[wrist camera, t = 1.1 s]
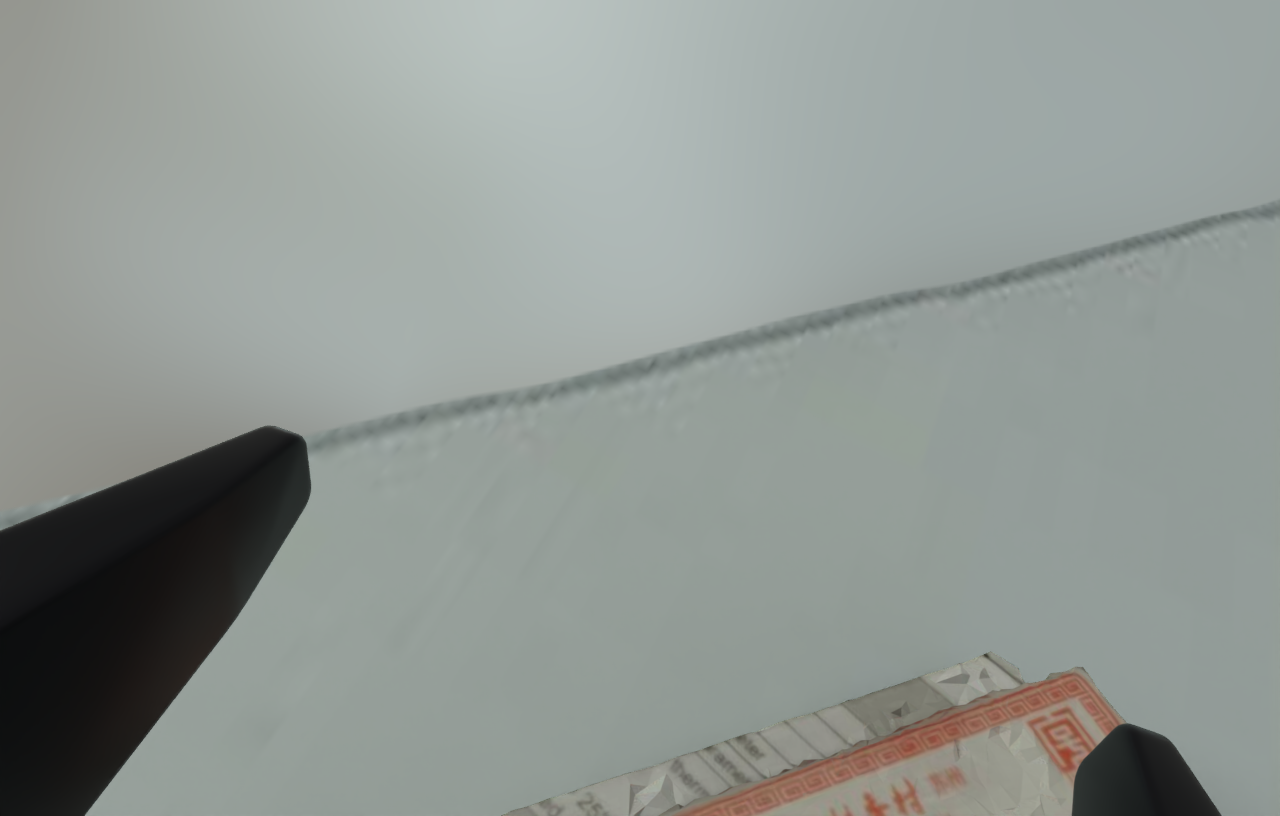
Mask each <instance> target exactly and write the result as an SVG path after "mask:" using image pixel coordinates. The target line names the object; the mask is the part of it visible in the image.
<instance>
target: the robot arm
mask: <svg viewBox="0 0 1280 816" xmlns="http://www.w3.org/2000/svg"><path fill="white" fill-rule="evenodd" d="M310 492H311V480H310V471H309V462H308V454H307V446H306V442H305V440H304V439H303V437H302V436H300V435H299V434H296V433H293V432H291V431H288V430H285V429H282V428H279V427H276V426H264V427H260V428H258V429H255V430H253V431H250V432H248V433H245V434H243V435H240V436H238V437H235V438H232V439H230V440H227V441H225V442H222V443H220V444H217V445H215V446H212V447H210V448H208V449H205V450H202V451H200V452H197V453H195V454H192V455H190V456H187V457H185V458H182V459H180V460H177V461H175V462H172V463H169V464H167V465H164V466H162V467H159V468H157V469H154V470H152V471H149V472H147V473H144V474H142V475H139V476H137V477H134V478H132V479H129V480H127V481H124V482H122V483H119V484H116V485H114V486H111V487H109V488H106V489H104V490H101V491H99V492H96V493H94V494H91V495H89V496H86V497H84V498H81V499H79V500H76V501H74V502H71V503H69V504H66V505H64V506H61V507H58V508H56V509H53V510H51V511H48V512H46V513H43V514H41V515H38V516H36V517H33V518H31V519H28V520H26V521H23V522H21V523H18V524H16V525H13V526H11V527H8V528H6V529H3V530H1V531H0V816H85V814H86V813H87V812H88V810H89V809H90V808H91V807H92V805H93V804H94V803H95V801H96V800H97V799H98V797H99V796H100V795H101V794H102V792H103V791H104V790H105V788H106V787H107V786H108V785H109V783H110V782H111V781H112V779H113V778H114V777H115V775H116V774H117V773H118V772H119V770H120V769H121V768H122V766H123V765H124V764H125V763H126V761H127V760H128V759H129V757H130V756H131V755H132V753H133V752H134V751H135V750H136V748H137V747H138V746H139V744H140V743H141V742H142V741H143V739H144V738H145V737H146V735H147V734H148V733H149V731H150V730H151V729H152V728H153V726H154V725H155V724H156V722H157V721H158V720H159V718H160V717H161V716H162V715H163V713H164V712H165V711H166V709H167V708H168V707H169V706H170V704H171V703H172V702H173V700H174V699H175V698H176V696H177V695H178V694H179V693H180V691H181V690H182V689H183V687H184V686H185V685H186V684H187V682H188V681H189V680H190V678H191V677H192V676H193V674H194V673H195V672H196V671H197V669H198V668H199V667H200V665H201V664H202V663H203V661H204V660H205V659H206V658H207V656H208V655H209V654H210V652H211V651H212V650H213V649H214V647H215V646H216V645H217V643H218V642H219V641H220V639H221V638H222V637H223V636H224V634H225V633H226V632H227V630H228V629H229V627H230V626H231V625H232V623H233V622H234V621H235V619H236V618H237V616H238V615H239V613H240V612H241V610H242V609H243V607H244V606H245V604H246V603H247V601H248V600H249V598H250V596H251V595H252V593H253V591H254V590H255V588H256V587H257V585H258V583H259V582H260V580H261V578H262V577H263V575H264V574H265V572H266V570H267V569H268V567H269V565H270V564H271V562H272V560H273V559H274V557H275V556H276V554H277V552H278V551H279V549H280V547H281V546H282V544H283V543H284V541H285V539H286V538H287V536H288V534H289V533H290V531H291V529H292V528H293V526H294V525H295V523H296V521H297V520H298V518H299V516H300V515H301V513H302V511H303V510H304V508H305V506H306V504H307V502H308V500H309V496H310ZM1072 816H1221V814H1220V813H1219V811H1218V810H1217V808H1216V807H1215V805H1214V804H1213V802H1212V801H1211V799H1210V798H1209V796H1208V795H1207V793H1206V792H1205V790H1204V789H1203V787H1202V786H1201V784H1200V783H1199V781H1198V780H1197V778H1196V777H1195V775H1194V774H1193V772H1192V771H1191V769H1190V768H1189V766H1188V765H1187V764H1186V762H1185V761H1184V759H1183V758H1182V756H1181V755H1180V753H1179V752H1178V750H1177V749H1176V747H1175V746H1174V745H1173V743H1172V742H1171V741H1170V740H1169V739H1167V738H1166V737H1165V736H1163V735H1161V734H1158V733H1155V732H1152V731H1150V730H1147V729H1144V728H1141V727H1138V726H1135V725H1132V724H1128V723H1125V724H1121V725H1118V726H1116V727H1115V728H1114V729H1113V730H1112V731H1111V732H1110V733H1109V734H1108V735H1107V736H1106V737H1105V738H1104V739H1103V740H1102V741H1101V742H1100V743H1099V744H1098V745H1097V746H1096V747H1095V748H1094V749H1093V750H1092V751H1091V752H1090V753H1089V754H1088V755H1087V756H1086V757H1085V758H1084V759H1083V761H1082V762H1081V763H1080V765H1079V767H1078V769H1077V772H1076V775H1075V780H1074V788H1073V803H1072Z"/></svg>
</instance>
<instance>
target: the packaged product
mask: <svg viewBox="0 0 1280 816" xmlns="http://www.w3.org/2000/svg"><path fill="white" fill-rule="evenodd" d="M1125 723H1126V721H1125V720H1124V719H1122V717H1121V716H1120V715H1119V714H1118V713H1117V711H1116V710H1115V709H1114V708H1113V706H1112V705H1111V704H1110V703H1109V702H1108V700H1107V699H1106V698H1105V697H1104V696H1103V694H1102V693H1101V692H1100V691H1099V689H1098V688H1097V687H1096V685H1095V684H1094V682H1093V680H1092V678H1091V677H1090V676H1089V674H1088V673H1087V672H1086V671H1085V669H1084V668H1083V667H1074V668H1072V669H1070V670H1068V671H1065V672H1058V673H1051V674H1049V676H1048V677H1047V678H1046V679H1045V680H1044V681H1039V682H1035V683H1025V682H1024V680H1023V679H1022V677H1021V674H1020V671H1019V669H1018V668H1017V667H1015V666H1014V665H1012V664H1011V663H1009V662H1008V661H1006V660H1004V659H1003V658H1001V657H1000V656H998V655H996V654H994V653H993V652H988V653H986V654H984V655H981V656H979V657H977V658H974V659H972V660H970V661H967V662H965V663H959V664H957V665H955V666H953V667H950V668H946V669H943V670H940V671H936V672H933V673H930V674H926V675H923V676H921V677H918V678H915V679H912V680H910V681H907V682H904V683H901V684H898V685H895V686H892V687H889V688H886V689H883V690H880V691H876V692H873V693H870V694H868V695H865V696H862V697H860V698H857V699H853V700H848V701H846V702H843V703H841V704H839V705H835V706H832V707H828V708H825V709H822V710H820V711H817V712H814V713H812V714H808V715H803V716H799V717H795V718H791V719H788V720H785V721H782V722H779V723H776V724H774V725H771V726H769V727H766V728H764V729H761V730H759V731H756V732H753V733H749V734H745V735H742V736H739V737H736V738H733V739H729V740H727V741H724V742H722V743H719V744H716V745H713V746H710V747H707V748H704V749H702V750H699V751H696V752H692V753H689V754H686V755H682V756H679V757H676V758H673V759H671V760H668V761H665V762H663V763H661V764H658V765H656V766H653V767H649V768H645V769H642V770H638V771H634V772H631V773H627V774H624V775H621V776H618V777H615V778H612V779H608V780H605V781H602V782H599V783H596V784H593V785H590V786H587V787H584V788H581V789H579V790H576V791H573V792H570V793H567V794H564V795H560V796H557V797H553V798H550V799H547V800H544V801H542V802H539V803H536V804H533V805H531V806H528V807H524V808H520V809H517V810H513V811H510V812H508V813H506V814H504V815H502V816H1072V803H1073V788H1074V780H1075V775H1076V772H1077V769H1078V767H1079V765H1080V763H1081V762H1082V761H1083V759H1084V758H1085V757H1086V756H1087V755H1088V754H1089V753H1090V752H1091V751H1092V750H1093V749H1094V748H1095V747H1096V746H1097V745H1098V744H1099V743H1100V742H1101V741H1102V740H1103V739H1104V738H1105V737H1106V736H1107V735H1108V734H1109V733H1110V732H1111V731H1112V730H1113V729H1114V728H1115V727H1116V726H1118V725H1121V724H1125Z"/></svg>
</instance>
